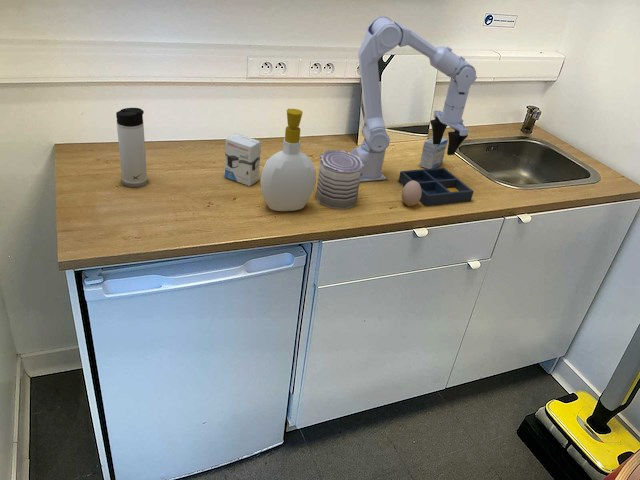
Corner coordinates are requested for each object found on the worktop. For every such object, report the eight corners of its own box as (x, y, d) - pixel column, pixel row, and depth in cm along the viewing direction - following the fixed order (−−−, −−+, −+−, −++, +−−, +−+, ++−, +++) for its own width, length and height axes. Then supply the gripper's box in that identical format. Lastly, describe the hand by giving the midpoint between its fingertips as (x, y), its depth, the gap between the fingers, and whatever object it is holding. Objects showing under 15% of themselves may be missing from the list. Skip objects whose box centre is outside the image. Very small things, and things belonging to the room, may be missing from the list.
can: (347, 187, 155) (353, 148, 148) (363, 207, 146) (371, 167, 140) (309, 190, 151) (314, 150, 144) (324, 211, 142) (330, 169, 135)
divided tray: (425, 206, 150) (428, 195, 149) (398, 181, 162) (400, 171, 160) (470, 201, 156) (473, 191, 155) (441, 177, 168) (443, 167, 166)
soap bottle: (307, 196, 148) (317, 103, 134) (316, 213, 141) (328, 116, 127) (254, 199, 143) (260, 103, 129) (262, 216, 136) (268, 117, 122)
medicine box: (431, 171, 171) (437, 145, 166) (418, 166, 173) (424, 140, 168) (442, 164, 176) (448, 139, 172) (430, 159, 178) (436, 134, 174)
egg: (418, 211, 148) (424, 187, 144) (399, 207, 148) (404, 183, 144) (418, 202, 152) (424, 178, 148) (399, 198, 153) (404, 175, 149)
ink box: (223, 177, 152) (224, 138, 145) (234, 171, 155) (235, 132, 149) (249, 186, 149) (251, 147, 142) (259, 180, 152) (261, 141, 146)
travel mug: (141, 189, 141) (136, 115, 130) (117, 185, 141) (110, 110, 131) (152, 179, 146) (148, 107, 135) (129, 175, 147) (123, 103, 136)
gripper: (481, 113, 151) (468, 158, 158) (451, 95, 162) (440, 138, 169) (460, 114, 148) (448, 160, 155) (431, 96, 159) (421, 139, 166)
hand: (443, 149), depth 162 cm, fingers open, 7 cm apart
